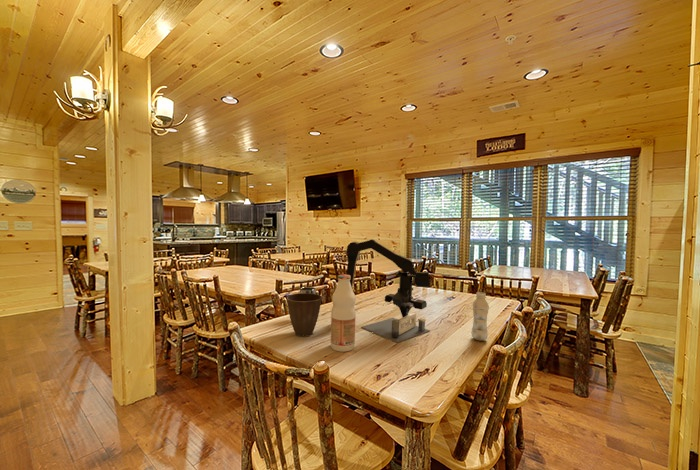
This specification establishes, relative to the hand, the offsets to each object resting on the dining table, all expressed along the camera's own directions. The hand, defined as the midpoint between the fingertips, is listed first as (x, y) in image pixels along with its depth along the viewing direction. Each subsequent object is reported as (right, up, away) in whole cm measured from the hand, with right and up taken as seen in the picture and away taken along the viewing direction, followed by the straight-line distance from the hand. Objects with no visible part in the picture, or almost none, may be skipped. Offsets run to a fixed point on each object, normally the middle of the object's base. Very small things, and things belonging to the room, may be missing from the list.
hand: (404, 319), depth 132 cm
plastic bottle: (+30, -6, -10) cm, 32 cm away
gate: (0, -4, -3) cm, 5 cm away
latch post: (+7, -5, -2) cm, 9 cm away
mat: (-4, -5, 0) cm, 6 cm away
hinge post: (-6, -5, -10) cm, 13 cm away
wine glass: (-47, -3, +14) cm, 49 cm away
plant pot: (-45, -4, -7) cm, 46 cm away
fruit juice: (-28, -5, -20) cm, 35 cm away
